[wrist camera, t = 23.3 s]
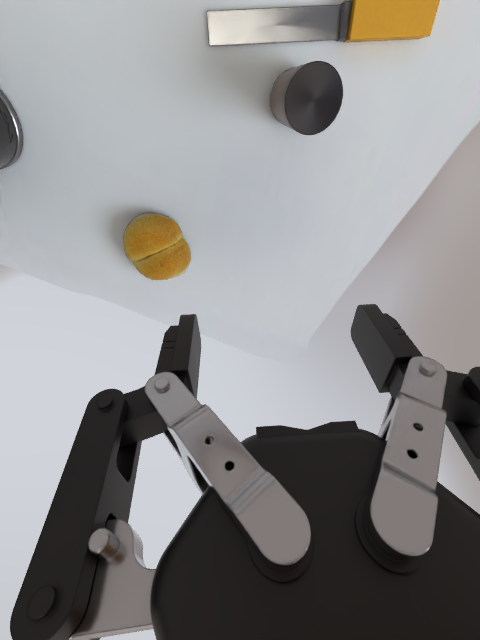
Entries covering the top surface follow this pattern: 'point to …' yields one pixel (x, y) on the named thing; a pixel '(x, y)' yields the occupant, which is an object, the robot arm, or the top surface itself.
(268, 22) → the knife
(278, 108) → the pepper mill
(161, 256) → the bread roll
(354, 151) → the top surface
